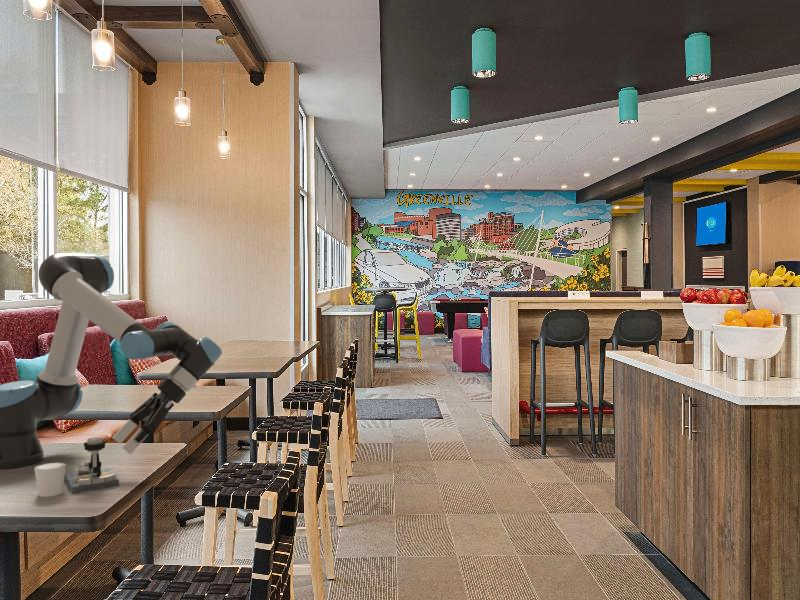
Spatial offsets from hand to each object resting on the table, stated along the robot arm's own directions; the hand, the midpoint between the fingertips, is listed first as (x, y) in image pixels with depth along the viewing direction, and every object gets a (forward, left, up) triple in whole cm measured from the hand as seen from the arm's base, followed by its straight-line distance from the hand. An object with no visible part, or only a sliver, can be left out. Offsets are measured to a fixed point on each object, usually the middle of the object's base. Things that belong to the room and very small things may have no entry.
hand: (120, 445), depth 172 cm
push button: (0, -6, -8) cm, 10 cm away
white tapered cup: (+1, -17, -9) cm, 20 cm away
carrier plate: (-3, -7, -9) cm, 12 cm away
